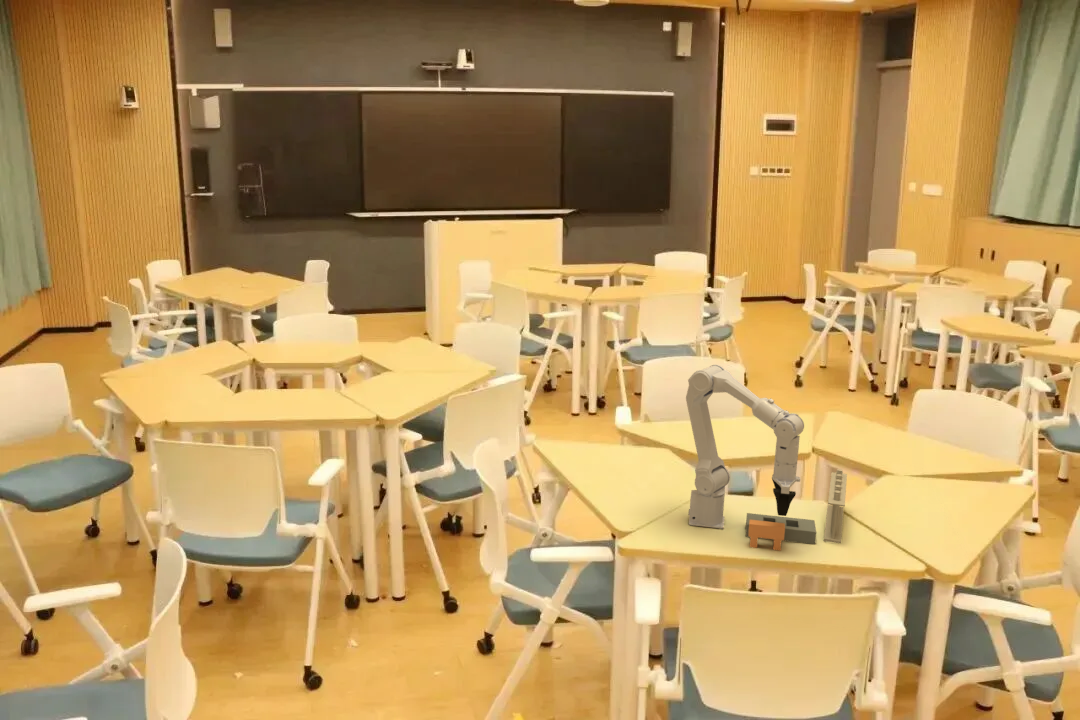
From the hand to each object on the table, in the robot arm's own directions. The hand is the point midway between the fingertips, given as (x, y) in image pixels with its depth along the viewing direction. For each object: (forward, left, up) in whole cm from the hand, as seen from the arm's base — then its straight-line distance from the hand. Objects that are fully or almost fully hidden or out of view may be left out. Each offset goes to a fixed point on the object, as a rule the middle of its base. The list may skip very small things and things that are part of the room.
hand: (781, 509), depth 240 cm
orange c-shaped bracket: (-3, -3, -10) cm, 11 cm away
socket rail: (+1, +6, -10) cm, 11 cm away
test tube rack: (+16, +17, -10) cm, 25 cm away
